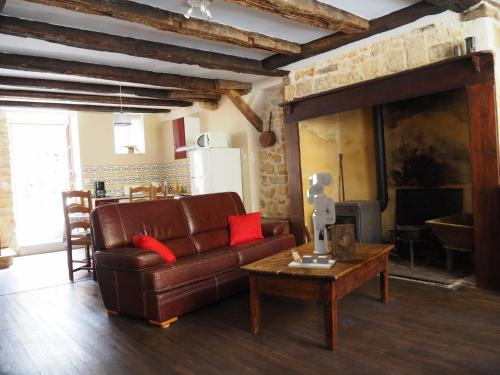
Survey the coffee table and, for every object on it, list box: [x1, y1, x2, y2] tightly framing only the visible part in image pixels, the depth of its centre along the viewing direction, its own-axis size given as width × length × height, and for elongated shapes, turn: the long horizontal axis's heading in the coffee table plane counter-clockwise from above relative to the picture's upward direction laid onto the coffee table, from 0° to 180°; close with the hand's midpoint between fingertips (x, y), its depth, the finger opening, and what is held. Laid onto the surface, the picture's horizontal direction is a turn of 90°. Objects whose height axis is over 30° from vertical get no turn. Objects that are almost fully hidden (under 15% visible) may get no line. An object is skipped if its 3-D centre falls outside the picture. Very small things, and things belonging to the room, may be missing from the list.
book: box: [330, 223, 357, 263], centre depth 290 cm, size 16×6×25 cm, turn 101°
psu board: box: [288, 255, 336, 270], centre depth 282 cm, size 18×28×6 cm, turn 67°
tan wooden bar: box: [291, 248, 302, 263], centre depth 275 cm, size 4×26×4 cm, turn 179°
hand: (321, 240), depth 279 cm, fingers closed
